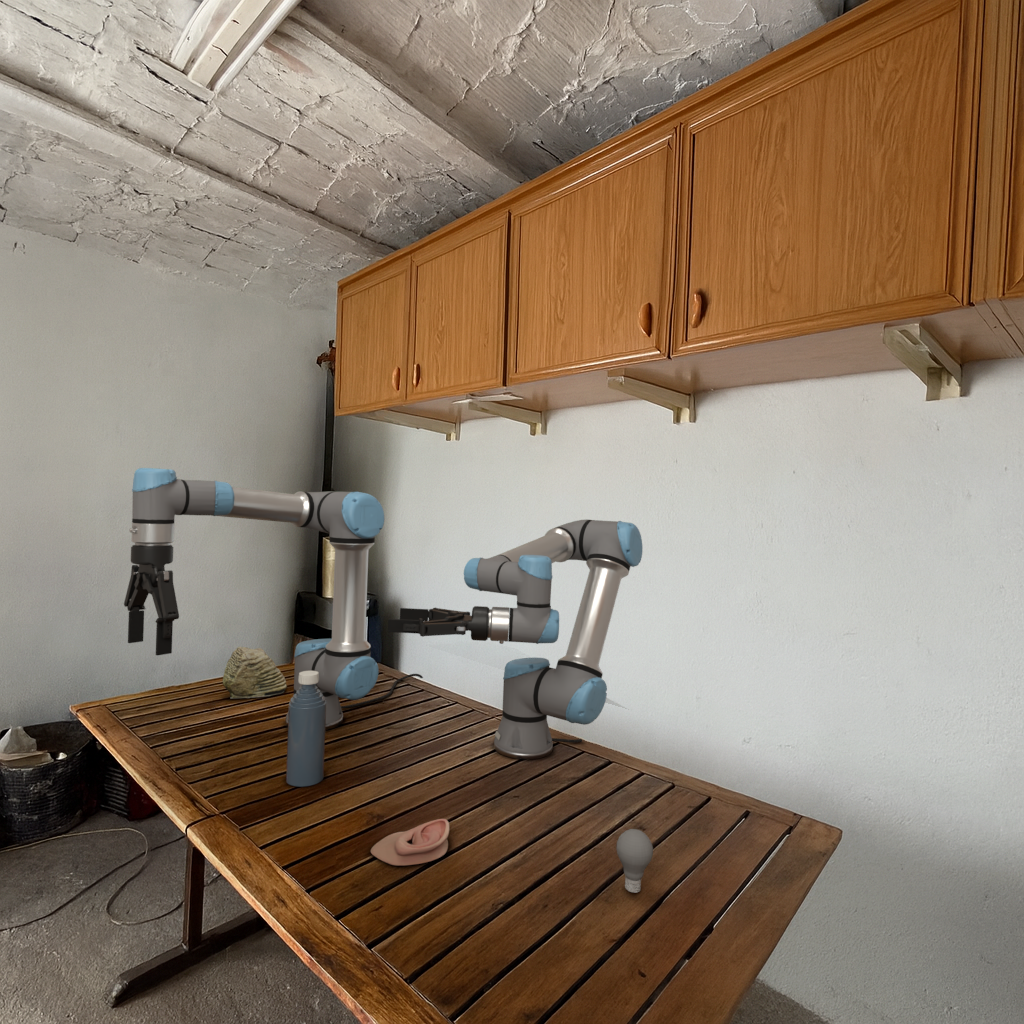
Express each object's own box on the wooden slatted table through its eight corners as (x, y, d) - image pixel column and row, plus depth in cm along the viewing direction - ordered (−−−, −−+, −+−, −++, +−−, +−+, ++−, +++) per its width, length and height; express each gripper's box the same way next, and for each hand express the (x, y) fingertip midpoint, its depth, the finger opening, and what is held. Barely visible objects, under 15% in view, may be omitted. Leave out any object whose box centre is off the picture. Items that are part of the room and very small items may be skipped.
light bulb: (610, 879, 108) (613, 822, 108) (644, 879, 109) (647, 822, 109) (619, 902, 102) (622, 840, 102) (655, 901, 103) (658, 840, 103)
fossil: (218, 695, 195) (220, 647, 195) (278, 685, 208) (279, 640, 207) (228, 703, 189) (230, 653, 188) (289, 692, 201) (290, 645, 201)
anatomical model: (363, 838, 111) (389, 807, 122) (362, 860, 111) (388, 827, 122) (436, 849, 108) (455, 817, 119) (435, 872, 108) (454, 838, 119)
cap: (298, 685, 139) (298, 676, 139) (298, 679, 143) (298, 671, 143) (319, 684, 140) (319, 675, 140) (318, 678, 144) (318, 670, 144)
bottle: (285, 788, 137) (290, 680, 136) (286, 773, 144) (289, 670, 144) (324, 784, 139) (328, 678, 139) (322, 769, 147) (326, 669, 147)
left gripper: (108, 540, 134) (105, 639, 134) (159, 549, 118) (155, 662, 118) (146, 539, 140) (143, 635, 140) (200, 548, 124) (196, 656, 124)
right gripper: (486, 654, 129) (381, 649, 129) (491, 629, 154) (403, 625, 154) (487, 617, 129) (383, 612, 129) (492, 598, 154) (405, 594, 154)
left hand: (149, 648), depth 129 cm, fingers open, 13 cm apart
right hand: (394, 619), depth 141 cm, fingers open, 13 cm apart
